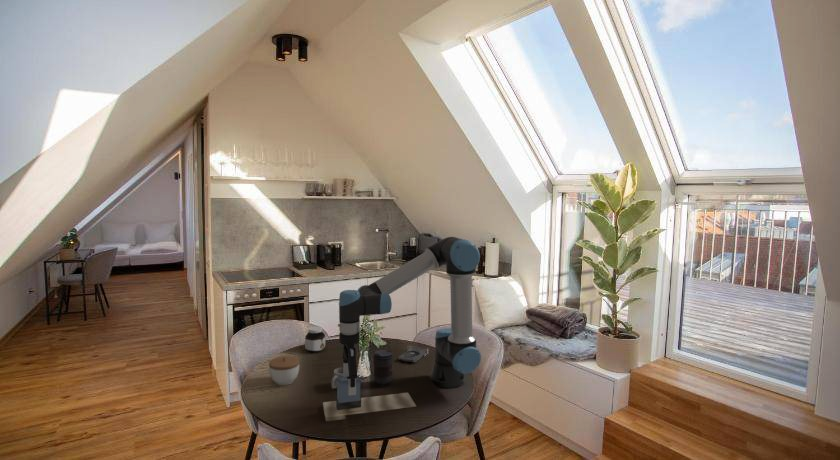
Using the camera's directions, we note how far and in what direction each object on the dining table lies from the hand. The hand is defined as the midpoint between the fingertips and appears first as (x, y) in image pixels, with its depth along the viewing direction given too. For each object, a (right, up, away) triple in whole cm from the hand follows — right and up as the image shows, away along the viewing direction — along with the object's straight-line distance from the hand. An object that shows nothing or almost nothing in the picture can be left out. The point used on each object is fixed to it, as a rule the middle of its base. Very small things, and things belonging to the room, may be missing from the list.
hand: (349, 386), depth 170 cm
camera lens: (+11, -8, +22) cm, 26 cm away
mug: (-8, -8, +20) cm, 23 cm away
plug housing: (0, -5, 0) cm, 5 cm away
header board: (+7, -9, +3) cm, 12 cm away
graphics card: (+22, -5, +56) cm, 61 cm away
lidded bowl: (-32, -7, +24) cm, 41 cm away
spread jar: (-28, -3, +64) cm, 70 cm away
